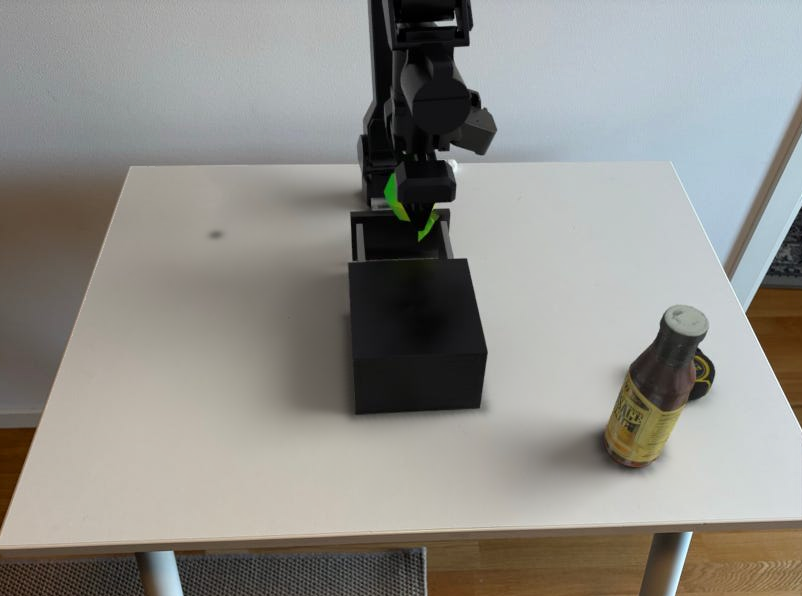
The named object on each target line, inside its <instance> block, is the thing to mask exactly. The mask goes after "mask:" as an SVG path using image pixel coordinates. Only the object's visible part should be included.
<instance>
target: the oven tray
mask: <svg viewBox="0 0 802 596" xmlns="http://www.w3.org/2000/svg"><path fill="white" fill-rule="evenodd" d="M371 207H372V210H374V211H371V210H356V211H355V210H352V211H351V210H350V212H349V219H350V221H349V222H350V239H351V240H350V241H351V262H376V261H403V260H430V259H455V257H454V252H453V251H454V250H453V246H452V243H451V236H450V228H451V227H450V226H451V209H450V207H447V208H446V207H443V208H434V209H433V211H434V212H436V213H437V214H439V215H440V216H439V217H438V219H437V221H436V220H434V221H435V222H434V225H433V228H432V229H431V230H430V231H429V232H428V233H427V234H426V235H425V236H424V237H423V238H422V239H421V240H420V241H419V242H418V234H419V231H415V230H414V228H413V226H412V224H411V222H410V221H406V220H400V219H399V218H398V217H397V215H396V214H395V213H394V211H393V210H392V208H391V207H390V206H389V204H388V203H387V200H386V198H371Z"/></svg>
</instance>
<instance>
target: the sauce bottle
mask: <svg viewBox="0 0 802 596" xmlns="http://www.w3.org/2000/svg"><path fill="white" fill-rule="evenodd" d="M709 328H710V322H709V320H708V317H707V316H706V315H705V313H704V312H702V311H701V310H700V309H698V308H695V307H693V306H691V305H687V304H675V305H671V306H669V307H668V308H667V309H666V310H665V311H664V312H663V314H662V316H661V318H660V321H659V328H658V332H657V333H656V336H655V338H654V340H653V341H652V342H651V344H649V345H648V346H647V347H646V348H645V349H644V350H643V351H642V352H641V353H640V355H639V356H637V358H636V359H635V360H633V362H631V363H630V365H629V367H628V369H627V372H626V374H625V376H624V381H623V382H622V385H621V387H620V390H619V392H618V396H617V398H616V401H615V403H614V406H613V408H612V411H611V414H610V416H609V418H608V421H607V424H606V427H605V434H604V439H603V441H604V447H605V450H606V451H607V452H608V454H609V455H610V456H611V458H613V460H614V461H616V462H617V463H618V464H621V465H622V466H628V467H631V468H643V467H647V466H648V465H651V464H652V463H653V462H655V461H656V460H657V459H658V458H659V457H660V455H661V453H662V452H663V449H664V448H665V446H666V444H667V442H668V440H669V438H670V436H671V434H672V432H673V430H674V428H675V426H676V424H677V422H678V420H679V418H680V416H681V414H682V412H683V410H684V408H685V406H686V404H687V402H688V401H687V400H688V396H689V393H690V391H691V390H692V388H693V386H694V383H695V379H696V368H695V365H694V359H693V358H694V356H695V351H696V349H697V347H698V348H699V345H700V344H701V342H703V341H704V339H705V338H706V336H707V333H708V331H709Z"/></svg>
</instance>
